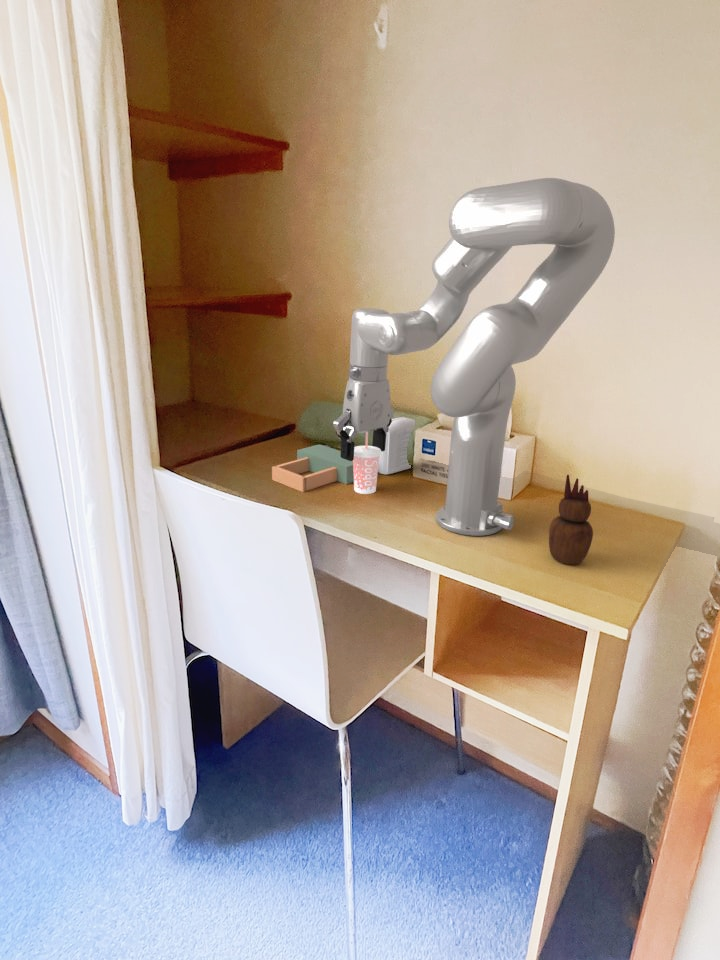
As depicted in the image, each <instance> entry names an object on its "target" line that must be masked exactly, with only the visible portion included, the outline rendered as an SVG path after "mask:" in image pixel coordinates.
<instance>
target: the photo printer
mask: <svg viewBox="0 0 720 960" xmlns="http://www.w3.org/2000/svg"><path fill="white" fill-rule="evenodd" d="M415 422H416V421H415V419H413V418H409V417H405V416H403V417H402V416H401V417H400V416H399V417H395V418H392V422H391V424H390V426H389V427H388V428H389V431H388V432H387V433H386V445H385V451H381V454H380V456H379V464H378V473H379V474H381V475H391V474H394V473H399V472H402V471H405V470H409V469H412V468H411V465H409V463H408V460H407V447H408V446H407V445H408V441H409V437H410V433H411V431H412V430H413V428H414V427H415Z"/></svg>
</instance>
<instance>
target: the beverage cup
mask: <svg viewBox="0 0 720 960" xmlns="http://www.w3.org/2000/svg"><path fill="white" fill-rule="evenodd" d="M380 454H381V449H380V448H378V447H374V446H372V445H369V431H368V432H365V445H355V446H354V460H353V472H354V482H353V491H354V492H355V493H357V494H361V495H372V494H373V493H375V492H376V490H377V483H378V482H377V481H378V473H379V472H378V464H379V456H380Z"/></svg>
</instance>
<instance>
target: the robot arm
mask: <svg viewBox="0 0 720 960" xmlns="http://www.w3.org/2000/svg"><path fill="white" fill-rule="evenodd" d="M448 228H449V234H450V236H451V237H450V239H449V240H448V242H447V243H446V244H445V245H444V246H443V248H442V249H441V250H440V251H439V252H438V253H437V255H436V256H435V257H434V259H432V263H431V267H432V268H431V269H432V272H433V275H434V278H436V280H437V283H436V285H435V288H434V290H433V291H432V293H431V294H430V295H429V296H428V298H427V299H426V300H425V301H424V302H423V303H422V305H421V306H420V307H419V308H418V309H417V310H415V311H414V310H413V311H405V312H404V311H403V312H396V313H390V312H388V311H386V310H385V309H379V308H370V307H369V308H365V307H364V308H357V309H355V310H354V311H353V313H352V316H351V326H350V327H351V329H350V331H351V332H350V350H349V351H350V352H349V365H348V366H349V370H348V371H347V376H348V380H347V381H346V387H345V391H344V397H343V398H344V399H343V404H342V405H343V406H342V414H341V415H340V416H339V417H337V418H336V419H335V420H334V421H333V423H332V424H333V428H334V430H335V434H336V435H337V437H338V439H339V441H340V451H341V455H340V456H341V458H343V459H346V460H348V461H353V460H354V447H355V442H354V439H355V437H356V435H357V433H360V434H363V433H366V432H368V433H369V432H372V443H371V444H372V445H371V446H374V447H378V448H380V449H381V451H385V445H386V433H387V432H388V431H389V428H388V427H389V426H390V424H391V422H392V419H394V418H393V417H394V414H395V411H396V410H395V409H394V408H393V407H391V390H390V389H391V388H390V381H389V379H388V378H387V376H388V375H387V374H388V361H389V355H391V356H399V355H404V354H406V355H407V354H410V353H414V352H415V353H416V352H420V351H426V350H428V349H429V348H431V347H433V346H435V345H436V344H437V343H438V342H439V341H440V340H441V339H443V337H444V336H445V335H446V334H447V333H448V331H450V330H451V328H452V327H453V326H455V324H456V323H457V322H458V320H459V319H460V317H461V316H462V313H463V311H464V310H465V308H466V305H467V304H468V300H469V297H470V295H471V293H472V292H473V291H474V289H475V288H476V287H477V286H478V285H479V284H480V283H481V282H482V280H483V279H484V278H485V277H486V276H487V275H488V273H489V272H490V271H492V269H493V268H494V267H495V266H496V265H497V264H498V263H499V262H500V261H501V260H502V259H503V258H504V257H505V256H506V254H507V253H508V252H509V251H510V250H511V249H512V248H513V247H515V246H517V247H518V246H526V245H528V246H529V245H555V246H554V248H553V250H552V251H551V253H550V254H549V255H548V256H547V257H546V258H545V259H544V260H543V261H542V262H541V263H540V264H538V266H537V267H536V269H534V271H533V272H532V273H531V275H530V276H529V278H528V279H527V281H526V282H525V284H523V286H522V288H521V289H520V290H519V291H518V292H517V294H515V296H514V297H513V298H512V299H511V300H510V301H509V302H506V303H498V304H493V305H490V306H488V307H485V308H484V309H482V310H481V311H479V312H478V313H477V314H476V315H475V316H474V317H472V319H470V321H469V322H468V323H467V324H466V326H465V327H464V329H463V330H462V332H461V333H460V334H459V336H458V337H457V338H456V340H455V342H454V343H453V345H452V346H451V347H450V349H449V350H448V352H447V353H446V354H445V356H444V357H443V358H442V360H441V361H440V363H439V364H438V366H437V368H436V370H435V371H434V374H433V376H432V379H431V383H430V397H431V400H432V403H433V405H434V406H435V408H436V409H437V410H438V411H439V412H440V413H441V414H443V415H445V416H447V417H451V418H453V422H452V428H451V436H450V445H449V446H450V447H449V448H450V449H449V457H448V459H449V460H448V471H447V483H446V493H445V494H446V495H445V496H446V497H445V505H444V506H443V507H441V508H440V509H439V510H437V512H436V513H435V514H436V515H435V520H436V523H437V524H438V525H439V526H440V527H441V528H443V529H445V530H447V531H449V532H452V533H455V534H460V535H465V536H472V537H473V536H475V537H476V536H477V537H479V536H480V537H481V536H483V537H484V536H489V535H494V534H496V533H498V532H500V531H502V529H505V530H507V531H511V530H512V529H513V526H514V523H515V522H514V519H515V515H512V514H510V513H505V512H504V511H503V503H502V502H500V501H499V491H500V484H501V483H500V482H501V474H502V467H503V457H504V456H503V455H504V448H505V442H506V433H507V426H508V421H509V417H510V416H509V415H510V411H511V408H512V406H513V405H512V404H513V401H514V396H515V394H516V393H515V392H516V384H517V383H516V382H517V381H516V375H515V374H516V373H515V371H514V368H513V365H516V364H520V363H524V362H526V361H529V360H531V359H533V358H535V357H536V356H538V355H539V354H540V352H542V350H543V349H544V348H545V347H546V346H547V344H548V342H549V341H550V340H551V339H552V337H553V336H554V335H555V334H556V332H557V331H558V330H559V329H560V328H561V326H562V325H563V324H564V322H565V321H566V320H567V319H568V318H569V316H570V315H571V313H572V312H573V310H574V309H576V307H577V306H578V304H579V303H580V302H581V301H582V299H583V298H584V297H585V295H586V294H587V293H588V292H589V291H590V289H592V286H593V285H594V284H595V283H596V282H597V280H598V279H599V277H600V276H601V275H602V273H603V271H604V270H605V267H606V266H607V264H608V263H609V260H610V258H611V255H612V251H613V249H614V244H615V238H616V237H615V234H616V231H615V230H616V228H615V221H614V217H613V213H612V211H611V208H610V206H609V204H608V202H607V201H606V199H605V198H604V197H603V196H602V195H601V194H600V192H598V191H597V190H596V189H594V188H592V187H591V186H588V185H585V184H582V183H578V182H573V181H570V180H566V179H563V178H556V177H544V178H543V177H542V178H536V179H531V180H524V181H517V182H511V183H504V184H503V183H502V184H497V185H492V186H491V185H490V186H483V187H482V186H481V187H478V188H477V187H476V188H474V189H471V190H469V191H467V192H466V193H464V194H462V195H461V196H460V197H459V199H458V200H457V201H456V202H455V203H454V205H453V206H452V209H451V211H450V215H449V219H448ZM348 433H349V434H348ZM498 501H499V502H498Z"/></svg>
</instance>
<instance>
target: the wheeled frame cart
mask: <svg viewBox="0 0 720 960" xmlns="http://www.w3.org/2000/svg"><path fill="white" fill-rule="evenodd" d="M296 451H297V452H296V454H297V455H296V458H297V459H295V460H292V461H288V462H284V463H280V464H277V465H274V466H271V480H272V481H274V482H276V483H280V484H281V485H283V486H287V487H289V488H292V489H294V490H296V491H299V492H302V493H304V492H307V491H310V490H313V489H316V488H320V487H322V486H326V485H328V484H332V483H334V482H338V483H342V484H344V485H348V484H352V483H354V472H353V461H348V460H346V459H343V458H341V456H340V455H341V450H339V449H335V448H334V447H333V448H332V447H331V446H330V445H329V444H326V445H325V444H324V445H323V444H321V443H320V444H315V445H311V446H308V447H304V448H301V449H297V450H296ZM306 472H311V473H309V474H306V475H301V474H303V473H306Z"/></svg>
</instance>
